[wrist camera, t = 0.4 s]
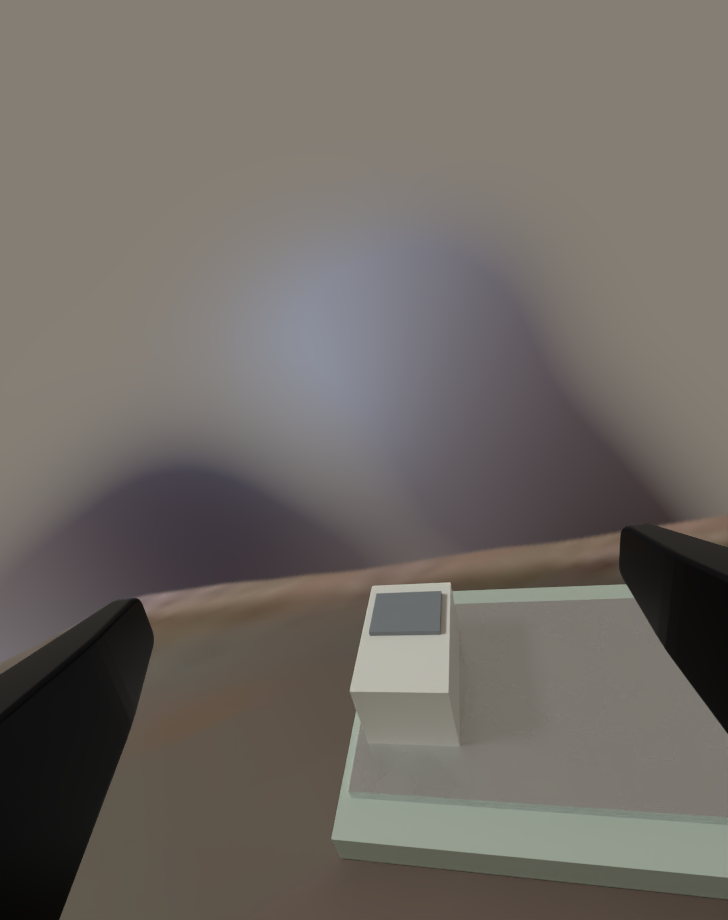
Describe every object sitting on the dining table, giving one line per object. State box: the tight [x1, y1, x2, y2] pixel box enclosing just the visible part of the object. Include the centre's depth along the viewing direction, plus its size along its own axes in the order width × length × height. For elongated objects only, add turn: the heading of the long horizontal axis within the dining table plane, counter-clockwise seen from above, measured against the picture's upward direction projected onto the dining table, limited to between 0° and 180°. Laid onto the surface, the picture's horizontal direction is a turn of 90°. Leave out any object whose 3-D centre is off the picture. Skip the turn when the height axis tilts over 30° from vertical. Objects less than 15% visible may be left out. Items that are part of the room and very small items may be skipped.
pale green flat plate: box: [348, 598, 728, 825], centre depth 21 cm, size 23×10×1 cm, turn 80°
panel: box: [331, 584, 728, 899], centre depth 21 cm, size 24×13×2 cm, turn 80°
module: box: [350, 583, 460, 747], centre depth 22 cm, size 4×6×4 cm, turn 170°
